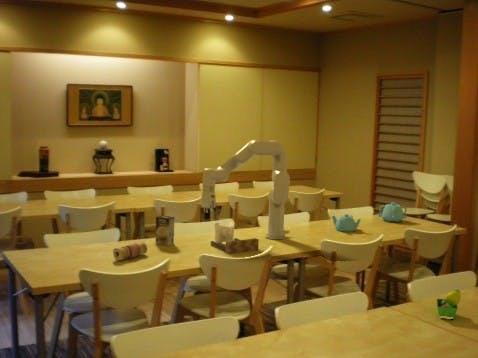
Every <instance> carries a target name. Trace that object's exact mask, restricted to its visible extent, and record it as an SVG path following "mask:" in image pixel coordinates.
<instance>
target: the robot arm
mask: <svg viewBox="0 0 478 358" xmlns="http://www.w3.org/2000/svg"><path fill="white" fill-rule="evenodd" d="M255 156H272V171H271V180H272V183H273V186H272V187H271V188H270V190H269V191H268V221H267V222H268V223H267V224H268V225H267V233H266V234H265V238H266V239H268V240H284V239H286V237H287V236H286V235H288V234H290V233H291V232H290V230H285V229H284V227H285V225H284V224H285V204H286V202H287V201H288V200H289V194H290V186H291V178H290V175H289V173H288V172H287V169H288V156H287V152H286V150H285V148H284V147H283V145H282V143H281V142H280V141H277V140H273V139H271V140H269V141H267V140H257V139H252V140H249V142H247V144H245V145H244V146H243V147H242V148H241V149H239V150H238V151H237V152H235V154H233V155H232V156H231V157H229V158H228V159H227V160H225V162H224V161H223V163H221V164H220V165H219V167H217V168H216V169H215V168H210V167H209V168H208V167H206V168H204V169H203V170H202V186H201V187H202V190H201V191H202V192H201V198H200V204H201V205H200V206H202V208H203V211H204V213H203V214H204V217H203V218H204V220H210V219H211V213H212V211H214V209H215V208H216V205H217V203H216V182H226V181H227V180H228V179H229V177H230V174H231V173H233V171H235V170H236V169H238V168H241V167H243V166H244V165H246V164H247V163H248V162H249V161H250V160H252V159H253V158H254V157H255Z"/></svg>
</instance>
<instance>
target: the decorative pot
mask: <svg viewBox="0 0 478 358" xmlns="http://www.w3.org/2000/svg"><path fill="white" fill-rule="evenodd" d="M396 203H397V202H390V204H385V205H384V204H382V205H379V212H378V217H380V218H382V220H383V221H386V223H387V222H388V223H390V222H395V223H400V222H402V221H403V220H404V219H406V218H407V216H408V215H407V214H406V212H407V207H406V206H404V205H403V206H401V205H400V204H396ZM382 207H383V208H382ZM403 209H404V210H403ZM403 211H404V212H403Z"/></svg>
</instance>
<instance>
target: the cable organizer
mask: <svg viewBox="0 0 478 358" xmlns="http://www.w3.org/2000/svg"><path fill="white" fill-rule="evenodd" d="M234 235H235V227H234V224H233V222H229V225H220V222H215V223H214V240H215V241H214V242H217V243H219V244H221V243H224V242H225V243H226V242H229V241H234Z"/></svg>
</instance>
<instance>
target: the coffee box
mask: <svg viewBox="0 0 478 358" xmlns="http://www.w3.org/2000/svg"><path fill="white" fill-rule="evenodd" d="M174 241H175V216H171V215H163V214H161V215H158V216H155V242H154V243H155V245H159V246H166V247H170V246H172V245H175V244H174V243H175V242H174Z"/></svg>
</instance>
